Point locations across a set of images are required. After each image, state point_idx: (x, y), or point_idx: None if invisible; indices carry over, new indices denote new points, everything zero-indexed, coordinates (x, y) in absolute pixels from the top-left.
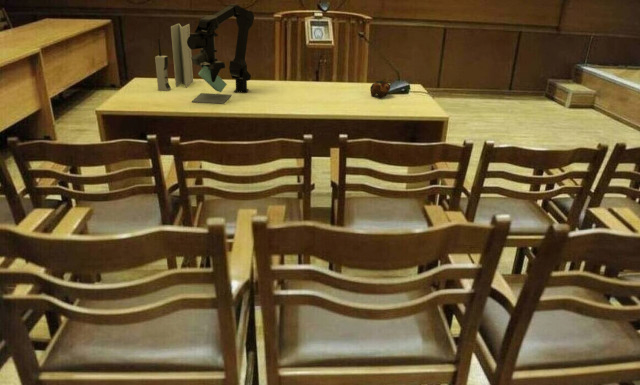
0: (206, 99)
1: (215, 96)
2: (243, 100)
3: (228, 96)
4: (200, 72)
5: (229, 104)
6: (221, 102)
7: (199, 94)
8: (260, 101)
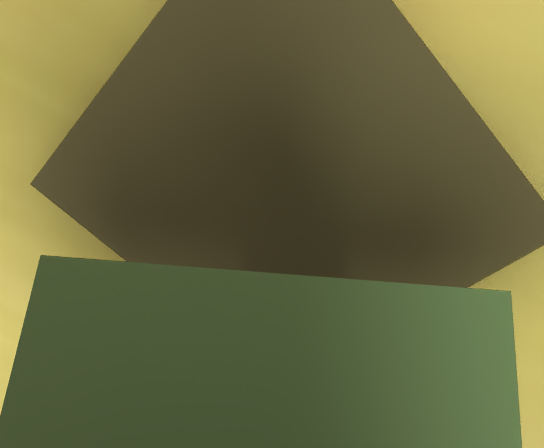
0: (245, 111)
1: (310, 263)
2: None
3: None
4: (412, 408)
5: (13, 215)
6: (50, 175)
7: (524, 177)
8: None
